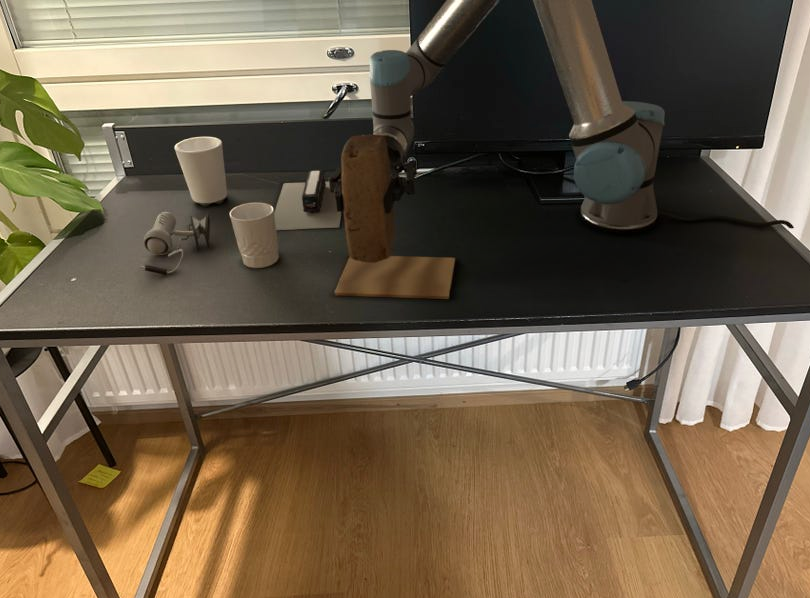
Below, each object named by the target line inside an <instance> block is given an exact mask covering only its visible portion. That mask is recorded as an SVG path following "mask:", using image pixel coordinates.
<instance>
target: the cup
mask: <svg viewBox="0 0 810 598" xmlns="http://www.w3.org/2000/svg"><path fill="white" fill-rule="evenodd" d="M174 151H175V153H176V156H177V159H178V163H179V165H180V167H181V171H182V172H183V177H184V180H185V182H186V185H187V188H188V190H189V194H190V197H191V199H192V201H193V203H194V204H200V205H201V206H203V207H208V206H210V205H211V204H217V205H220V204H222V203H223V202H224V200H225V199H226V198H228V189H227V179H226V170H225V160H224V149H223V141H222V140H221V139H220V138H217V137H214V136H196V137H190V138H187V139H183V140H181V141H179V142H177V143H176V144H175V145H174Z"/></svg>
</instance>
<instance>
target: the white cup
mask: <svg viewBox="0 0 810 598" xmlns="http://www.w3.org/2000/svg"><path fill="white" fill-rule="evenodd" d="M274 212H275V208H274V207H273V206H272V205H271V204H269V203H265V202H258V201H257V202H255V201H254V202H247V203H243V204H240V205H237V206H235V207H233V208H232V209H231V210H230V211H229V218H230V221H231V226H232V230H233V232H234V235H235V241H236V244H237V247H238V250H239V253H240V255H241V259H242V263H243V265H244V266H246V267H248V268H251V269H252V268H253V269H261V268H266V267H267V268H268V267H269V266H272V265H274V264H275V263H277V262H278V260H279V258H280V256H279V248H278V235H277V234H278V233H277V230H276V224H275V217H274Z"/></svg>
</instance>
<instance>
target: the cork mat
mask: <svg viewBox="0 0 810 598" xmlns="http://www.w3.org/2000/svg"><path fill="white" fill-rule="evenodd" d="M455 264H456V257H444V256H443V257H441V256H440V257H439V256H407V255H406V256H404V255H391V256H390V257H389V258H387V259H385V260H382V261H378V262H373V263H370V262H361V261H356V260H353V259H352V258H351V257H350V256H349V258H348V259H347V262H346V264H345V267H344V269H343V271H342V273H341V277H340V278H339V280H338V283H337V286H336V288H335V290H334V296H342V297H343V296H344V297H372V298H401V299H403V298H404V299H429V300H430V299H433V300H449V299H450V295H451V289H452V283H453V276H454V270H455Z"/></svg>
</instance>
